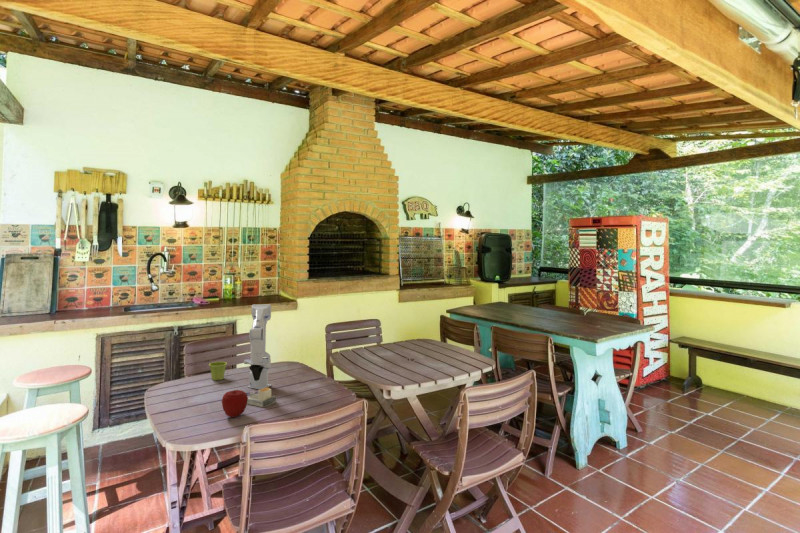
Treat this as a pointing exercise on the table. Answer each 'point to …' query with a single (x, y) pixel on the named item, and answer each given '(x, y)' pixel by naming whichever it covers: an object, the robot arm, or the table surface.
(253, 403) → the grey piece
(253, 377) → the robot arm
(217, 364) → the plant pot
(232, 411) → the apple
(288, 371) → the table surface
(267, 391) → the block
